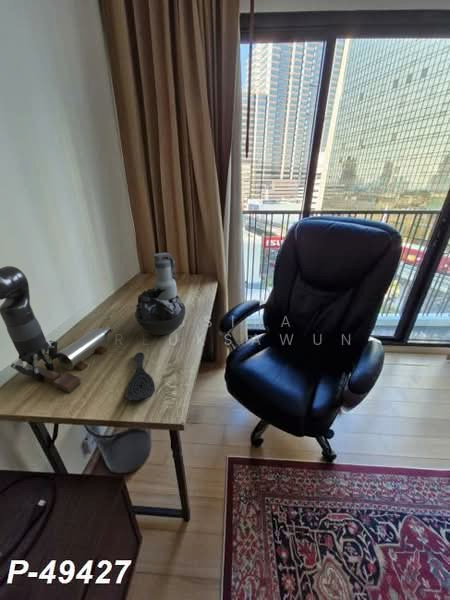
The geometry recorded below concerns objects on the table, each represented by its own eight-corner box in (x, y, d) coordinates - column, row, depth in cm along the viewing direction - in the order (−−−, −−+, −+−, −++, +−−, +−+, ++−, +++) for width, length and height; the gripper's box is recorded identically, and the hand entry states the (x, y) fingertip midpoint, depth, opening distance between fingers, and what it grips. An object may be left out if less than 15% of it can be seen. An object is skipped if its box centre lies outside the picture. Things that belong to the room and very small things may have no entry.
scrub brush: (27, 378, 83) (24, 371, 81) (40, 369, 86) (37, 363, 85) (69, 394, 76) (66, 387, 75) (81, 384, 80) (79, 377, 79)
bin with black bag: (157, 315, 118) (150, 278, 109) (195, 322, 112) (192, 283, 103) (128, 339, 101) (119, 298, 93) (172, 349, 95) (165, 305, 86)
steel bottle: (77, 374, 84) (70, 355, 80) (60, 368, 86) (52, 350, 83) (119, 340, 100) (115, 323, 97) (103, 337, 103) (99, 320, 99)
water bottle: (174, 303, 129) (168, 249, 117) (182, 310, 122) (176, 254, 109) (155, 308, 124) (146, 253, 112) (162, 316, 117) (153, 258, 104)
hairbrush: (150, 345, 93) (154, 392, 71) (151, 353, 94) (156, 402, 72) (126, 350, 90) (123, 400, 69) (128, 358, 92) (126, 410, 70)
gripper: (40, 319, 82) (56, 360, 90) (-9, 344, 70) (16, 389, 78) (56, 323, 80) (72, 365, 87) (10, 350, 68) (32, 395, 76)
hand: (45, 376), depth 83 cm, fingers open, 3 cm apart
